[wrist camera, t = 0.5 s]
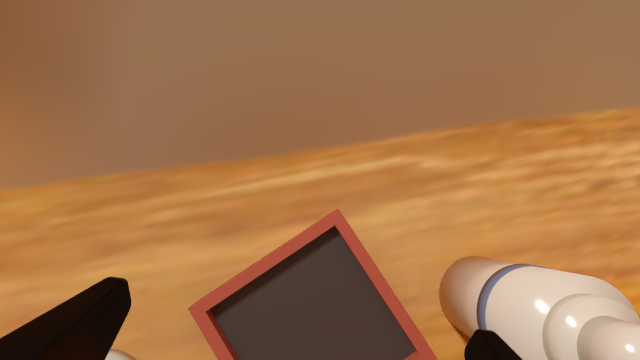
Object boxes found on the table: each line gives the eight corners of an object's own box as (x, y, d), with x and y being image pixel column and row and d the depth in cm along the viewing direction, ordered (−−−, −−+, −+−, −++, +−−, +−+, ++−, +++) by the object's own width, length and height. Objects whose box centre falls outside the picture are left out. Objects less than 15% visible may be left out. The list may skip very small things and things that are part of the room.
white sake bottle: (530, 306, 23) (769, 392, 11) (469, 353, 22) (655, 498, 11) (483, 240, 24) (665, 255, 12) (423, 284, 23) (550, 347, 11)
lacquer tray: (426, 348, 22) (437, 358, 21) (287, 453, 21) (285, 474, 19) (335, 210, 23) (338, 208, 22) (197, 301, 22) (188, 308, 20)
